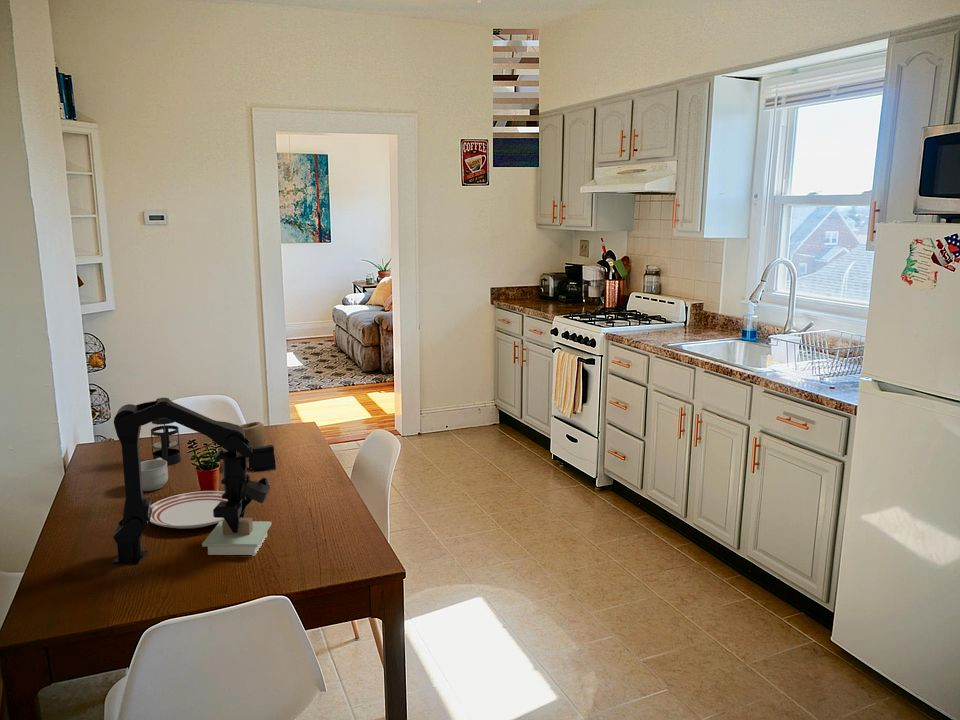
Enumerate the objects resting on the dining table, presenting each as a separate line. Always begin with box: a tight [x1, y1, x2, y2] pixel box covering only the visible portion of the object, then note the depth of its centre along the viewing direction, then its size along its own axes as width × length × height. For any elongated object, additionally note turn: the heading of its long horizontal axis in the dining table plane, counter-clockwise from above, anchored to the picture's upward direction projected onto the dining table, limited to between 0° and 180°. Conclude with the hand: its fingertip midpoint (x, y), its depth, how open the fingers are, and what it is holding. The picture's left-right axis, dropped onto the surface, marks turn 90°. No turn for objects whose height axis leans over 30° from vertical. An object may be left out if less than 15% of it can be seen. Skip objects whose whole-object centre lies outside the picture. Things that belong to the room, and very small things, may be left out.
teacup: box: [140, 458, 169, 492], centre depth 235 cm, size 14×11×8 cm
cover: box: [201, 517, 272, 548], centre depth 195 cm, size 14×14×4 cm
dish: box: [207, 531, 268, 557], centre depth 196 cm, size 12×12×3 cm
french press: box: [150, 397, 182, 467], centre depth 256 cm, size 12×9×23 cm
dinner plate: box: [149, 490, 228, 530], centre depth 214 cm, size 27×27×3 cm
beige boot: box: [239, 421, 267, 470], centre depth 256 cm, size 15×12×15 cm
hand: (237, 529), depth 195 cm, fingers open, 4 cm apart
